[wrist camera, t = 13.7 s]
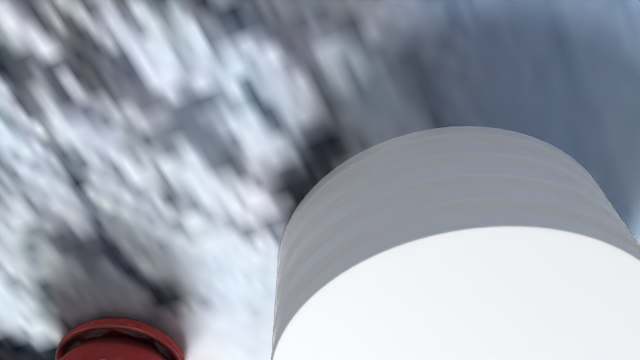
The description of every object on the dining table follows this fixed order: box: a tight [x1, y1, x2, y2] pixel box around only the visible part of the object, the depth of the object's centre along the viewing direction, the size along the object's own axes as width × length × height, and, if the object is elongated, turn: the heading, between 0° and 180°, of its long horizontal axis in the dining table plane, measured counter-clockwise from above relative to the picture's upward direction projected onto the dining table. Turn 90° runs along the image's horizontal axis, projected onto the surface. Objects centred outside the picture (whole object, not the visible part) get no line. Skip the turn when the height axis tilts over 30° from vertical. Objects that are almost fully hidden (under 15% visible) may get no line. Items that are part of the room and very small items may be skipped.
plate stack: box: [271, 126, 640, 360], centre depth 46 cm, size 28×28×12 cm
